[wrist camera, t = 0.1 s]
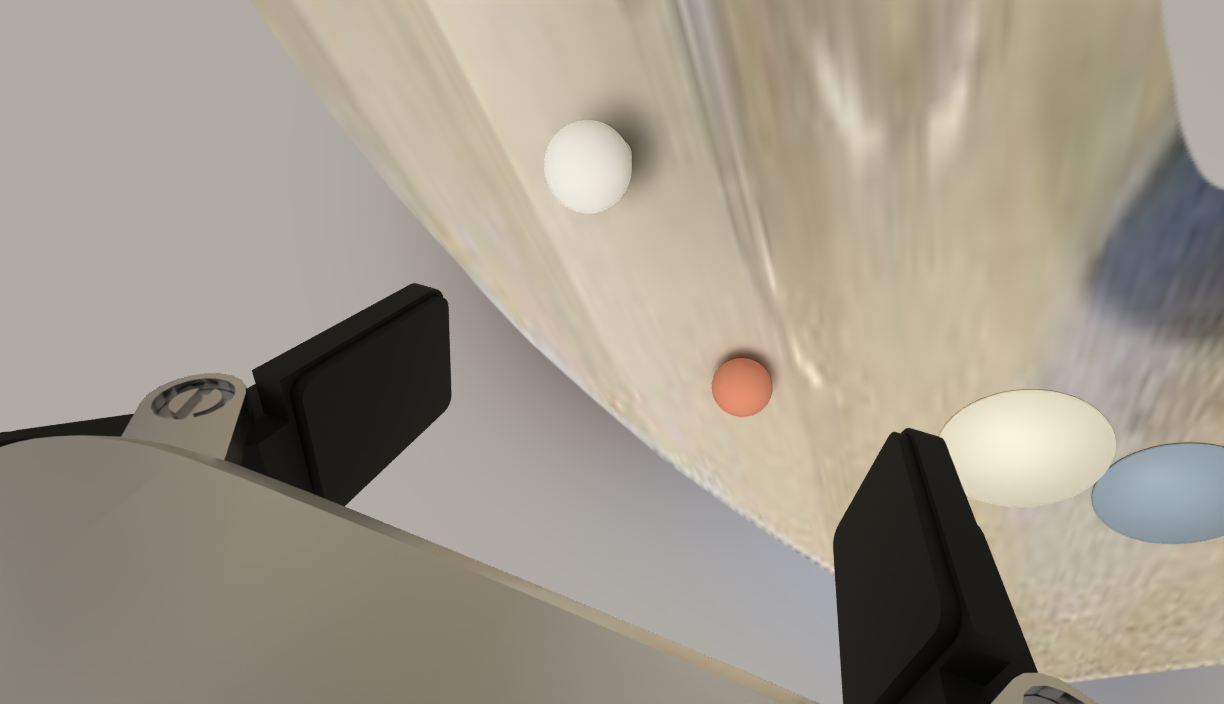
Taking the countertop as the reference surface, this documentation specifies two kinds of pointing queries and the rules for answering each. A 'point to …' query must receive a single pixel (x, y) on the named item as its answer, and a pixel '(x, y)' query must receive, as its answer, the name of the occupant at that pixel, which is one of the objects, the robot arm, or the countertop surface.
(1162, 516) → the disc
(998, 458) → the disc
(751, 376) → the ball
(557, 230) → the countertop surface
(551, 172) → the light bulb
